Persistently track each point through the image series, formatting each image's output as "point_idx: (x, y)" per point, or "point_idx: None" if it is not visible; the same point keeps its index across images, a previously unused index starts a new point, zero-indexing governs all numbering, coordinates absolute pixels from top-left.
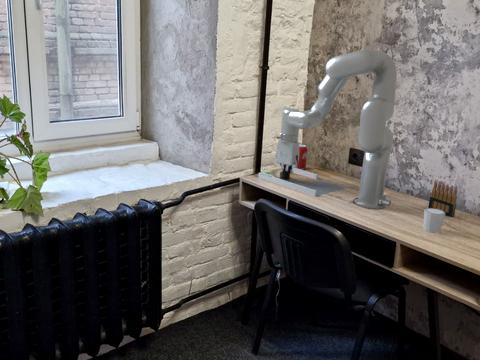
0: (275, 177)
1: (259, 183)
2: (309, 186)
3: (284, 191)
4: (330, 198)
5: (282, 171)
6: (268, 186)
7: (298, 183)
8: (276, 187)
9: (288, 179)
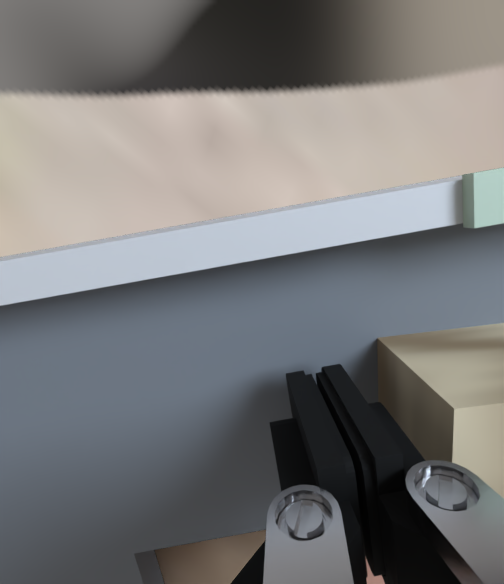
0: (468, 336)
1: (493, 73)
2: (5, 528)
3: (49, 175)
4: None
5: None
6: (323, 107)
7: (163, 484)
8: (242, 189)
9: None
